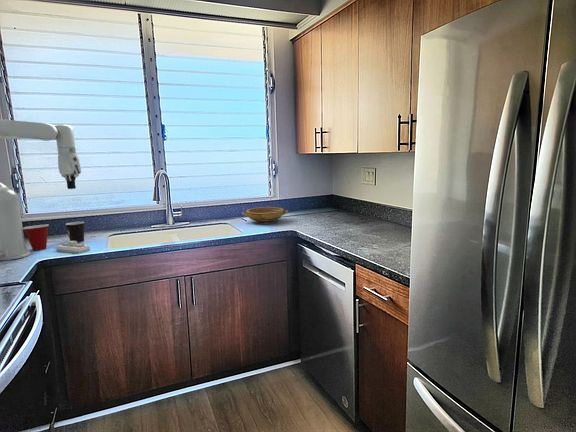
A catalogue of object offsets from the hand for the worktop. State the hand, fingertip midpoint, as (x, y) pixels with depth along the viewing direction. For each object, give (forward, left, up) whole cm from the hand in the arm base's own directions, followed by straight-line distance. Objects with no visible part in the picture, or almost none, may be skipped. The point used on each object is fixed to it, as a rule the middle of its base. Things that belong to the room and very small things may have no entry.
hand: (71, 188), depth 182 cm
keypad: (-8, -6, -29) cm, 31 cm away
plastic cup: (-11, +14, -29) cm, 34 cm away
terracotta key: (-8, -11, -28) cm, 31 cm away
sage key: (-8, -6, -26) cm, 28 cm away
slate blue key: (-8, -2, -28) cm, 29 cm away
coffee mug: (+5, +8, -29) cm, 31 cm away
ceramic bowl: (+80, -67, -29) cm, 108 cm away
